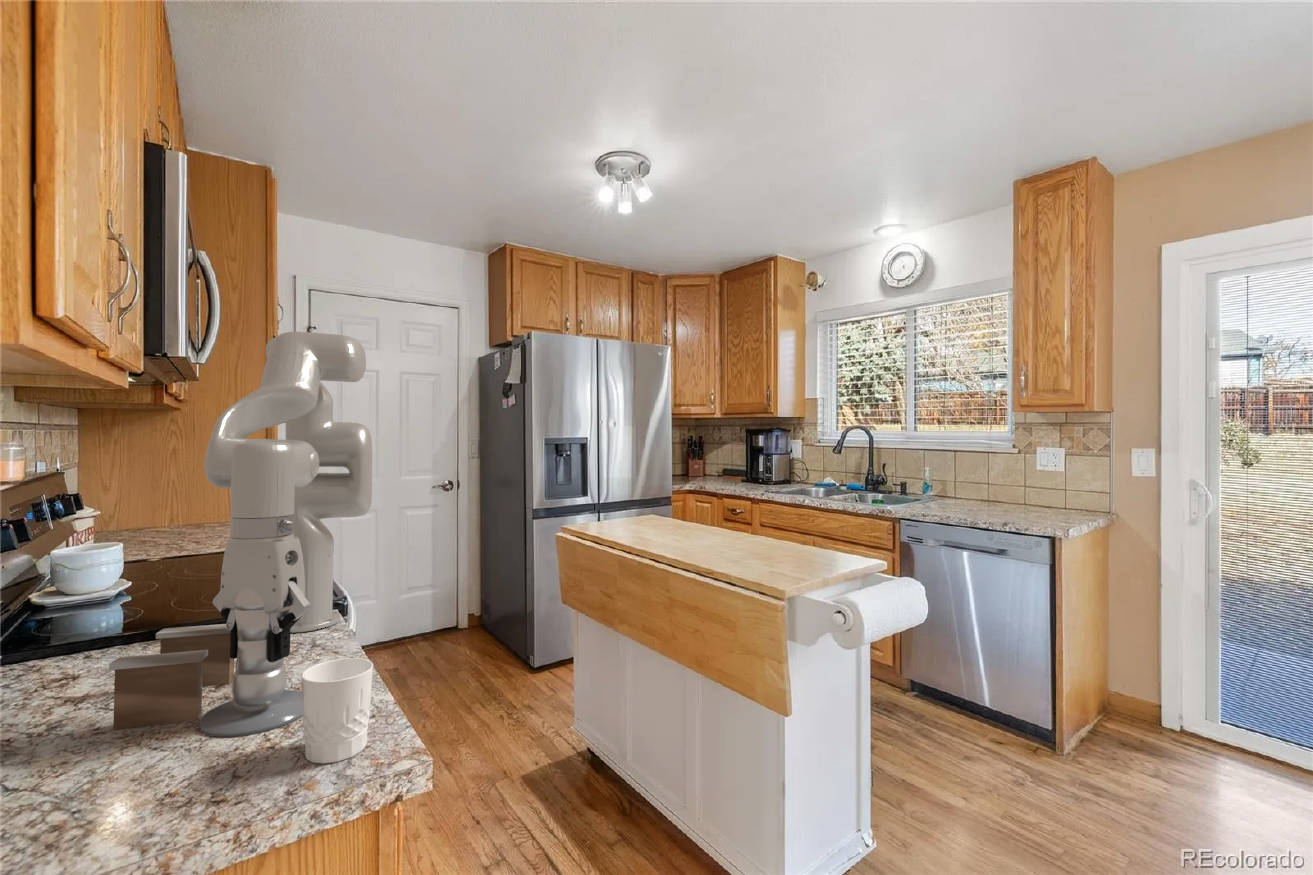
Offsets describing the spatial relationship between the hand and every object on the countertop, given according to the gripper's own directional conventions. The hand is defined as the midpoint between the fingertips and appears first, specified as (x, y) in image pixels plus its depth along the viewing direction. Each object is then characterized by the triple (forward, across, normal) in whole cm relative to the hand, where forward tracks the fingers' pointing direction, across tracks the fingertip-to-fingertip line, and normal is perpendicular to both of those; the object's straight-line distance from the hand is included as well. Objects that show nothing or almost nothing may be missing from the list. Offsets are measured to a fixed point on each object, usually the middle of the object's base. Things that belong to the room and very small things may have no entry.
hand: (260, 655), depth 82 cm
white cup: (+8, -18, +6) cm, 20 cm away
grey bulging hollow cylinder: (+7, 0, 0) cm, 7 cm away
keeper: (+8, +14, -1) cm, 16 cm away
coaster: (+8, 0, 0) cm, 8 cm away
